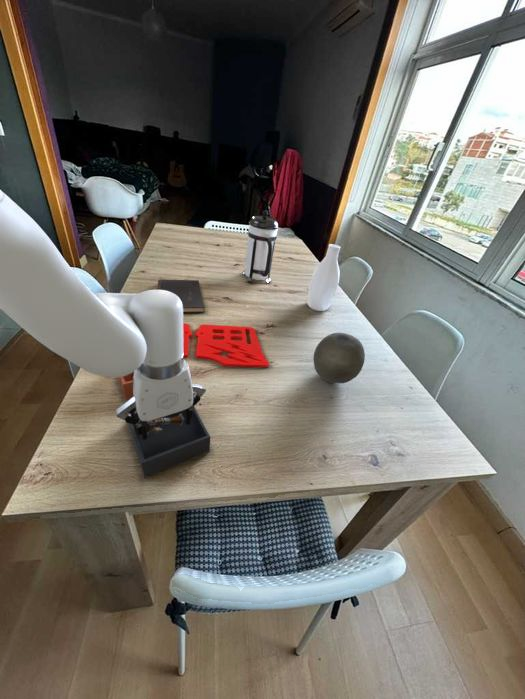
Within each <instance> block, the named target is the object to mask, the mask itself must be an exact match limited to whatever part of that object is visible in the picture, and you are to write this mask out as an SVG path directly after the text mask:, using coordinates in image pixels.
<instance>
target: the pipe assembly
mask: <svg viewBox="0 0 525 699" xmlns="http://www.w3.org/2000/svg"><path fill="white" fill-rule="evenodd" d="M184 420H185V419H184V417H183V416H182V414H179V416H178V417H174V418H161V419H154V420H150V421H147V422H146V423H147V424H149V426H148V428H147V429H146V431H147V437H148V435H149V434H150V432H152V433H153V432H154V434H156V433H160V432H161V431H162V429H160V427H158V428H155V426H156V425H157V424H161V425H163V424H164V425H165V424H169V423H179V424H180V425H182V424H183V422H184ZM153 427H154V429H153V430H151V429H152V428H153Z"/></svg>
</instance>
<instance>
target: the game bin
mask: <svg viewBox="0 0 525 699" xmlns="http://www.w3.org/2000/svg"><path fill="white" fill-rule="evenodd" d="M135 411H136V407H135V408H133V409H132V410H131V411H130V412H131V413H134V412H135ZM179 414H182V411H180V412H177V413H173V414H170V415H167V416H164V417H161V418H174V417H178V416H179ZM161 418H157V419H161ZM146 422H147V421H145V425H146V429H147V428H148V426H149V424H147V423H146ZM127 425H128V428H129V431H130V434H131V438H132V442H133V445H134V448H135V452H136V455H137V459H138V461H139V465H140V468H141V471H142V472H141V473H142V475H143V478H144V479H147V478H148V477H151V476H154V475H156V474H158V473H161V472H163V471H166V470H168V469H170V468H171V469H172V468H173V467H176V466H178V465H180V464H183V463H185V462H189V461H190V460H192V459H195V458H197V457H199V456H202V455H205V454H207V453H209V452H210V450H211V435H210V434H209V432H208V430H207V427H206V426H205V424H204V422H203V420H202V419H201V416H200V414H199V412H198V410H197V409H196V406H194V410H192V418H190V424H189V425H186V423H185V421H184V422H183V424H182V425H180V424H179V423H169V424H165V425H164V424H163V425H161V424H157V425H156V426H155V428H158V427H160V429H162V431H161V432H160V433H156V434H154V432H153V433H152V432H150V434H149V435H148V437H147V438H146V439H145V440H144V439H143V436H142V434H140V435H138V432H137V428H136V425H133V424H130V423H127ZM153 429H154V427H153V428H152V429H151V430H153Z"/></svg>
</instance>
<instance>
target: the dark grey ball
mask: <svg viewBox="0 0 525 699" xmlns="http://www.w3.org/2000/svg"><path fill="white" fill-rule="evenodd" d="M365 353H366V352H365V348H364V345H363V344H362V342H361V341H360V340H359V339H358V338H357V337H355V336H354V335H351V334H348V333H345V332H333V333H331V334H328V335H326V336H325V337H323V338H322V339H321V340H320V342H319V343H318V344H317V345H316V347H315V350H314V352H313V366H314V370H315V372H316V373H317V375H318V376H319V378H321V379H322V380H323V381H325V382H327V383H331V384H345V383H349V382H351V381H352V380H353V379H355V378H356V377H357V376H358V375H359V374H360V373H361V371H362V369H363V366H364V364H365V360H366V355H365Z"/></svg>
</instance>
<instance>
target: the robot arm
mask: <svg viewBox="0 0 525 699" xmlns="http://www.w3.org/2000/svg"><path fill="white" fill-rule="evenodd" d="M0 310H2V312H4V314H6V315H7V316H8V317H10V319H12V320H13V321H14V322H15V323H16V324H17V325H18V326H20V328H22V329H23V330H24V331H25V332H27V333H28V334H29V335H30V336H32V338H34V339H35V340H36V341H38V342H39V343H40V344H42V345H43V346H44V347H45V348H46V349H48V350H50V351H52V352H53V353H55V354H56V355H58V356H60V357H62V358H63V359H64V360H66V361H68V362H70V363H72V364H73V365H75V366H77V367H78V368H80V369H82V370H84V371H86V372H88V373H91V374H92V375H95V376H99V377H102V378H107V379H108V378H109V379H110V378H119V377H122V376H126V375H128V374H130V373H132V372H134V377H133V396H134V397H132V398H130V399H127V400H126V402H124V403H123V404H122V405H120V406H119V407H118V408H116V409H115V411H114V412H115V415H116V418H119V419H120V420H122V421H125V423H126V424H128V423H130V424H133V425H136V428H137V432H138V435H140V434H142V436H143V439H144V440H145V439H146V438H147V431H146V425H145V421H150V420H154V419H157V418H161V417H164V416H167V415H170V414H173V413H177V412H180V411H182V416H183V417H184V419H185V420H184V421H185V423H186V425H189V424H190V418H192V410H194V407H196V405H197V404H198V403H199V402H200V401H201V398H202V397H203V396H204V395H205V393H206V391H207V388H206V387H205V385H204V384H199V383H195V382H193V381H192V376H191V369H190V366H189V364H188V362H187V361H186V360H185V358H184V352H183V323H184V313H183V304H182V302H181V300H180V298H179V297H178V296H177V295H175V294H174V293H172V292H169V291H165V290H158V289H148V290H144V291H140V292H138V293H124V292H123V293H122V292H121V293H120V292H93V291H92V290H91V289H90V288H89V287H88V286H87V285H86V283H84V281H83V280H82V279H81V278H80V277H79V276H78V275H77V273H76V272H75V271H74V270H73V269H72V267H71V266H70V265H69V263H68V262H67V261H66V259H65V258H64V257H63V256H62V254H61V252H60V251H59V249H58V248H57V246H56V245H55V244H54V242H53V241H52V239H51V238H50V237H49V236H48V234H47V233H46V232H45V231H44V229H42V228H41V226H40V225H39V224H38V223H37V222H36V221H35V219H33V218H32V217H31V216H30V215H29V214H28V213H27V212H26V211H24V210H23V208H21V207H20V206H19V205H18V204H17V203H16V202H15V201H13V199H12V198H10V197H9V196H8V195H7V194H6V193H5V192H4V191H3V190H2V189H0ZM135 407H136V411H135V412H134V413H131V412H130V411H131V410H132V409H133V408H135Z"/></svg>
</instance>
